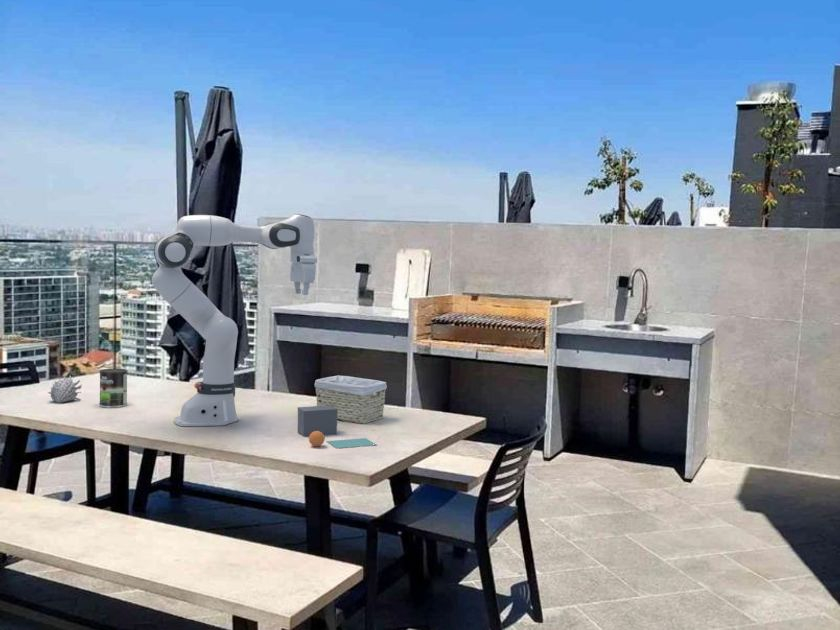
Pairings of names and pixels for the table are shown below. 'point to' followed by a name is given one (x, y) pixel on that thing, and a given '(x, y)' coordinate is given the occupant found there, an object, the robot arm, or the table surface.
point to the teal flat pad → (351, 443)
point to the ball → (316, 438)
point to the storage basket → (352, 397)
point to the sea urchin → (64, 390)
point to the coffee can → (113, 388)
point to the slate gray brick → (317, 420)
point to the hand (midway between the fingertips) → (301, 294)
